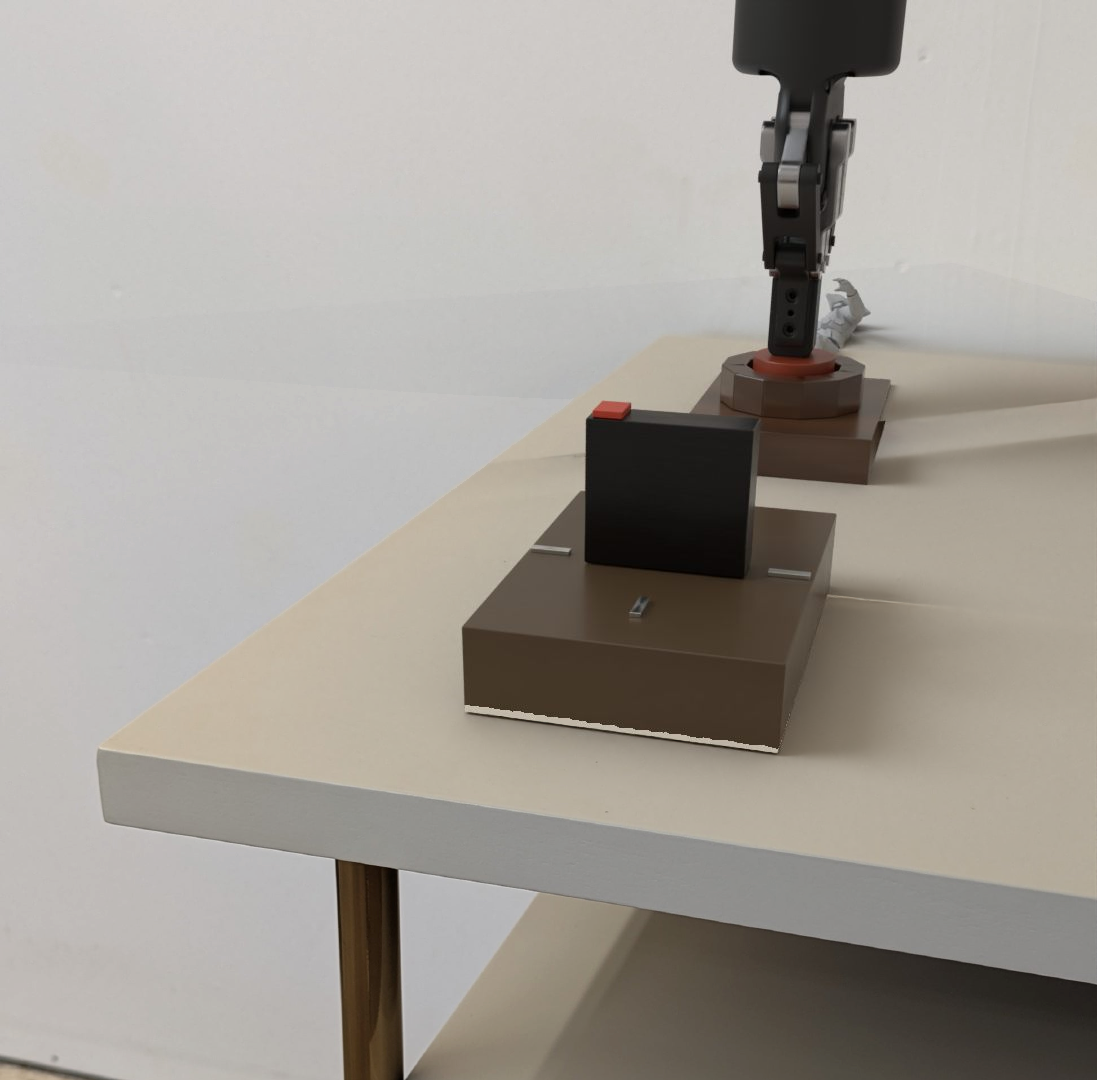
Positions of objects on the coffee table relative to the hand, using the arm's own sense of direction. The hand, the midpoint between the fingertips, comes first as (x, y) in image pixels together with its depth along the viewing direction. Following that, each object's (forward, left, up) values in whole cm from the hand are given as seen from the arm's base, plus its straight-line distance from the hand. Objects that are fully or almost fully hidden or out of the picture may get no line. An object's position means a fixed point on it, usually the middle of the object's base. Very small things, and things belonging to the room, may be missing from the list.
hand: (791, 353), depth 69 cm
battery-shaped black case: (+16, +21, -1) cm, 26 cm away
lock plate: (+16, +21, -5) cm, 27 cm away
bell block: (0, 0, -5) cm, 5 cm away
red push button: (0, 0, -2) cm, 2 cm away
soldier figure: (-8, -12, -5) cm, 15 cm away
